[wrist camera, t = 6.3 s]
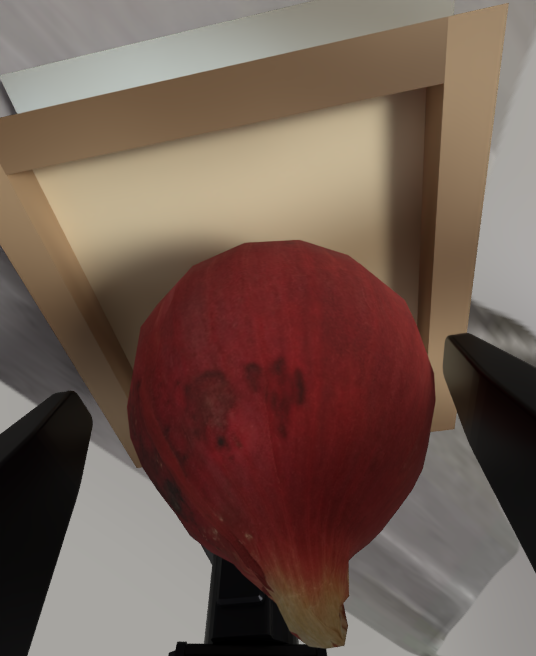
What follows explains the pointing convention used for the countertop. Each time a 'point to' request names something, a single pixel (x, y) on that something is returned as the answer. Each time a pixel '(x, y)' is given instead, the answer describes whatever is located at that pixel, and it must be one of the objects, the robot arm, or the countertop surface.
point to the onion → (283, 417)
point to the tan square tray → (252, 167)
